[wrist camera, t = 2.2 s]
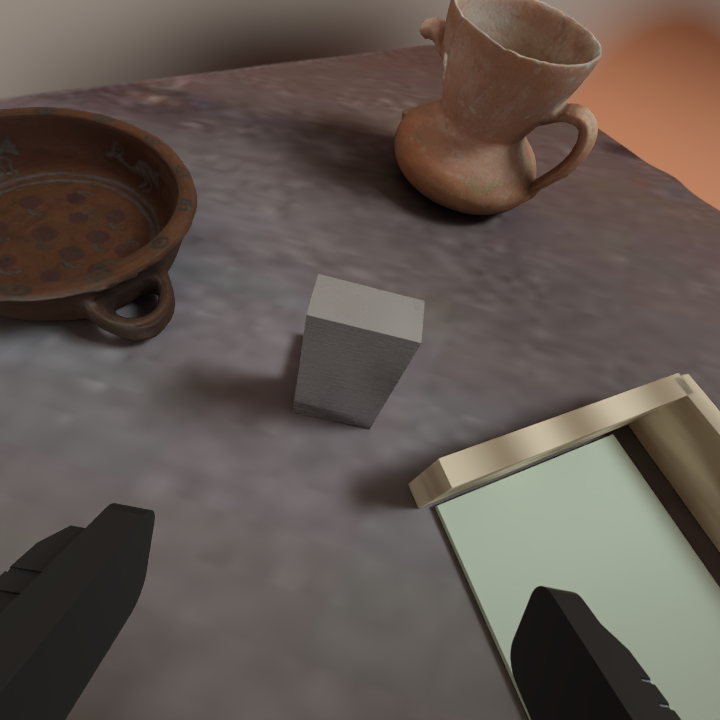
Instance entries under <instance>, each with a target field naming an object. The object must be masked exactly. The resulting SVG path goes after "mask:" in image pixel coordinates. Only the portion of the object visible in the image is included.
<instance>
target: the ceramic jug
mask: <svg viewBox="0 0 720 720" xmlns="http://www.w3.org/2000/svg"><path fill="white" fill-rule="evenodd" d="M420 33H421V35H422V36H423V37H424V38H425V39H428V38H429V39H430V40H433V42H434V43H435V45H436V47H437V50H438V52H439V54H440V56H441V58H442V59H443V70H442V99H439V100H435V101H430V102H427V103H424V104H421V105H419V106H417V107H414V108H411V109H406V110H403V112H402V121H401V122H400V124H399V126H398V128H397V131H396V135H395V155H396V159H397V162H398V165H399V167H400V169H401V171H402V173H403V175H404V176H405V177H406V179H407V180H408V181H409V183H410V184H411V185H412V186H413V187H414V188H415V189H417V190H418V191H419V192H420V193H421V194H423V195H424V196H426V197H427V198H429V199H430V200H432V201H433V202H435V203H437V204H439V205H441V206H444V207H446V208H449V209H451V210H455V211H458V212H462V213H466V214H473V215H493V214H499V213H503V212H506V211H509V210H511V209H513V208H515V207H517V206H519V205H520V204H521V203H523V202H526V201H528V200H530V199H532V198H533V197H534V196H535V195H536V194H537V193H538V192H539V190H541V189H542V188H544V187H546V186H548V185H550V184H552V183H554V182H556V181H558V180H560V179H562V178H564V177H566V176H568V174H570V173H571V172H573V170H575V169H576V168H577V167H578V166H579V165H580V164H581V163H582V162H583V161H584V160H585V158H586V157H587V156H588V154H589V153H590V151H591V150H592V148H593V146H594V144H595V141H596V138H597V133H598V124H597V121H596V119H595V117H594V115H593V114H592V112H591V111H590V110H589V109H588V108H586V107H584V106H582V105H578V104H567V103H566V101H567V99H568V98H569V97H570V96H571V95H572V94H573V93H574V92H575V91H576V90H577V88H578V87H579V86H580V85H581V84H582V83H583V81H584V80H585V79H586V78H587V76H588V75H589V74H590V73H591V71H592V70H593V69H594V67H595V66H596V64H597V63H598V61H599V60H600V58H601V56H602V54H601V53H602V51H601V45H600V43H599V42H598V40H596V39H595V37H594V35H593V34H591V32H590V31H589V30H587V29H586V28H585V27H584V26H582V25H580V24H579V22H578V21H576V20H575V19H574V18H572V17H570V16H568V15H565V13H564V12H562V11H560V10H559V9H557V8H554V7H552V6H550V5H548V4H547V3H544V2H542V1H539V0H451V2H450V5H449V9H448V13H447V18H446V21H444V20H442V19H439V18H429V19H426V20H425V22H423V24H422V25H421V27H420ZM556 122H566V123H569V124H572V125H574V126H576V127H577V129H578V130H579V134H578V139H577V142H576V144H575V146H574V147H573V149H572V151H571V152H570V154H569V155H568V156H567V157H566V158H565V159H564V160H563V161H562V162H561V163H560V164H559V165H557V166H556V167H555V168H553V169H552V170H550V171H549V172H547V173H545V174H544V175H542V176H541V177H539V178H537V179H535V178H536V161H535V157H534V153H533V151H532V149H531V146H530V144H529V142H528V140H527V138H526V135H528V134H529V133H530V132H531V131H532V130H534V129H535V128H536V127H538V126H541V125H547V124H551V123H556Z"/></svg>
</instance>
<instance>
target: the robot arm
mask: <svg viewBox="0 0 720 720" xmlns="http://www.w3.org/2000/svg"><path fill="white" fill-rule="evenodd" d="M154 520H155V514H154V511H153V510H148V509H142V508H137V507H132V506H127V505H121V504H116V503H113V504H110V505H109V506H108V507H106V508H105V509H104V510H103V511H102V512H101V513H100V514H99V515H98V516H97V517H96V518H95V519H94V520H93V521H92V522H91V523H90V524H89V525H88V526H87V527H86V528H81V527H76V526H69V527H67V528H65V529H63V530H61V531H59V532H57V533H55V534H53V535H51V536H49V537H47V538H45V539H43V540H42V541H40V542H38V543H36V544H35V545H34V546H33V547H32V548H31V549H30V550H29V551H27V552H26V553H25V554H24V555H23V556H22V557H21V558H19V559H18V560H17V561H16V562H15V563H14V564H13V565H12V566H11V567H10V569H9V571H8V572H6V571H5V572H4V573H3V574H1V575H0V720H65V719H66V718H67V716H68V714H69V713H70V711H71V710H72V708H73V706H74V705H75V703H76V701H77V700H78V698H79V697H80V695H81V693H82V692H83V690H84V689H85V687H86V685H87V684H88V682H89V681H90V679H91V677H92V676H93V674H94V672H95V671H96V669H97V668H98V666H99V664H100V663H101V661H102V660H103V658H104V656H105V655H106V653H107V651H108V650H109V648H110V647H111V645H112V643H113V642H114V640H115V639H116V637H117V635H118V634H119V632H120V631H121V629H122V627H123V626H124V624H125V622H126V621H127V619H128V618H129V616H130V614H131V613H132V611H133V609H134V607H135V605H136V603H137V601H138V598H139V596H140V593H141V590H142V588H143V584H144V581H145V577H146V571H147V565H148V558H149V552H150V546H151V539H152V533H153V527H154ZM510 660H511V668H512V673H513V677H514V679H515V682H516V684H517V687H518V689H519V692H520V694H521V696H522V699H523V701H524V704H525V706H526V708H527V711H528V713H529V716H530V718H531V720H681V719H680V717H679V716H678V715H677V713H676V712H675V711H674V710H671V709H670V707H669V703H668V701H667V700H666V699H665V697H664V696H663V695H662V693H661V692H660V691H659V689H658V688H657V687H656V685H655V684H651V682H650V677H649V676H648V675H647V673H646V672H645V671H644V669H643V668H642V667H641V665H640V664H639V663H638V661H637V660H636V659H635V657H634V656H633V655H632V653H631V652H630V651H629V650H628V649H627V648H626V647H625V646H624V645H623V644H622V643H621V642H620V641H619V640H618V639H617V638H616V637H615V636H614V635H612V634H611V633H610V632H609V631H608V630H607V629H606V628H605V627H604V626H603V625H601V623H600V622H599V621H598V619H597V618H596V617H595V615H594V614H593V612H592V611H591V610H590V608H589V607H588V606H587V604H586V603H585V601H584V600H583V599H582V598H581V596H579V595H578V594H577V593H575V592H571V591H565V590H560V589H555V588H550V587H544V586H538V587H536V588H535V589H534V590H533V592H532V594H531V596H530V599H529V601H528V604H527V606H526V609H525V611H524V614H523V616H522V619H521V621H520V624H519V626H518V629H517V631H516V634H515V636H514V639H513V641H512V645H511V652H510Z"/></svg>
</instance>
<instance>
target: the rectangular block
mask: <svg viewBox="0 0 720 720" xmlns="http://www.w3.org/2000/svg"><path fill="white" fill-rule="evenodd" d="M424 302H425V301H422V300H418V299H414V298H410V297H406V296H403V295H399V294H395V293H391V292H387V291H383V290H379V289H375V288H371V287H367V286H363V285H360V284H356V283H352V282H348V281H344V280H340V279H336V278H332V277H328V276H324V275H320V274H318V277H317V280H316V284H315V287H314V291H313V294H312V298H311V301H310V305H309V308H308V312H307V316H306V322H305V329H304V336H303V343H302V350H301V357H300V364H299V371H298V378H297V385H296V392H295V399H294V406H293V412H295V413H299V414H304V415H308V416H313V417H317V418H322V419H326V420H331V421H335V422H340V423H344V424H349V425H353V426H358V427H362V428H367V429H370V428H371V426H372V424H373V423H374V421H375V419H376V418H377V416H378V414H379V413H380V411H381V409H382V408H383V406H384V404H385V403H386V401H387V399H388V398H389V396H390V394H391V393H392V391H393V389H394V388H395V386H396V384H397V383H398V381H399V379H400V378H401V376H402V374H403V373H404V371H405V369H406V368H407V366H408V364H409V363H410V361H411V359H412V358H413V356H414V354H415V353H416V351H417V349H418V348H419V346H420V344H421V342H422V328H423V315H424Z"/></svg>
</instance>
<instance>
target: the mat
mask: <svg viewBox="0 0 720 720" xmlns="http://www.w3.org/2000/svg"><path fill="white" fill-rule="evenodd" d="M435 509H436V511H437V513H438V516H439V518H440V520H441V522H442V525H443V527H444V529H445V531H446V534H447V536H448V538H449V540H450V543H451V545H452V547H453V549H454V552H455V554H456V556H457V558H458V561H459V563H460V565H461V567H462V570H463V572H464V574H465V576H466V579H467V581H468V583H469V585H470V588H471V590H472V592H473V594H474V597H475V599H476V601H477V603H478V606H479V608H480V610H481V612H482V615H483V617H484V619H485V621H486V624H487V626H488V628H489V631H490V633H491V635H492V637H493V640H494V642H495V644H496V646H497V649H498V651H499V653H500V655H501V658H502V660H503V662H504V664H505V667H506V669H507V671H508V673H509V676H510V678H511V680H512V682H513V685H514V687H515V689H516V691H517V694H518V696H519V698H520V700H521V703H522V705H523V707H524V709H525V712H526V714H527V716H528V718H529V720H531V718H530V716H529V713H528V711H527V708H526V706H525V704H524V701H523V699H522V696H521V694H520V692H519V689H518V687H517V684H516V682H515V679H514V677H513V673H512V668H511V660H510V652H511V645H512V641H513V639H514V636H515V634H516V631H517V629H518V626H519V624H520V621H521V619H522V616H523V614H524V611H525V609H526V606H527V604H528V601H529V599H530V596H531V594H532V592H533V590H534V589H535V588H536V587H538V586H544V587H550V588H555V589H560V590H565V591H571V592H575V593H577V594H578V595H579V596H581V598H582V599H583V600H584V601H585V603H586V604H587V606H588V607H589V608H590V610H591V611H592V612H593V614H594V615H595V617H596V618H597V619H598V621H599V622H600V623H601V625H603V626H604V627H605V628H606V629H607V630H608V631H609V632H610V633H611V634H612V635H614V636H615V637H616V638H617V639H618V640H619V641H620V642H621V643H622V644H623V645H624V646H625V647H626V648H627V649H628V650H629V651H630V652H631V653H632V655H633V656H634V657H635V659H636V660H637V661H638V663H639V664H640V665H641V667H642V668H643V669H644V671H645V672H646V673H647V675H648V676H649V677H650V682H651V684H655V685H656V687H657V688H658V689H659V691H660V692H661V693H662V695H663V696H664V697H665V699H666V700H667V701H668V703H669V707H670V709H671V710H674V711H675V712H676V713H677V715H678V716H679V717H680V719H681V720H720V587H719V586H718V585H717V583H716V582H715V580H714V579H713V577H712V576H711V574H710V573H709V572H708V570H707V569H706V567H705V566H704V564H703V563H702V561H701V560H700V559H699V557H698V556H697V554H696V553H695V551H694V550H693V548H692V547H691V546H690V544H689V543H688V541H687V540H686V538H685V537H684V535H683V534H682V533H681V531H680V530H679V528H678V527H677V525H676V524H675V522H674V521H673V520H672V518H671V517H670V515H669V514H668V512H667V511H666V510H665V508H664V507H663V505H662V504H661V502H660V501H659V499H658V498H657V497H656V495H655V494H654V492H653V491H652V489H651V488H650V486H649V485H648V484H647V482H646V481H645V479H644V478H643V476H642V475H641V473H640V472H639V471H638V469H637V468H636V466H635V465H634V463H633V462H632V460H631V459H630V458H629V456H628V455H627V453H626V452H625V450H624V449H623V448H622V446H621V445H620V443H619V442H618V440H617V439H616V437H615V436H614V435H613V434H612V435H610V436H607V437H605V438H603V439H600V440H598V441H595V442H593V443H590V444H588V445H585V446H583V447H580V448H578V449H575V450H573V451H571V452H568V453H566V454H563V455H561V456H558V457H556V458H553V459H551V460H548V461H546V462H543V463H541V464H539V465H536V466H534V467H531V468H529V469H526V470H524V471H521V472H519V473H516V474H514V475H511V476H509V477H507V478H504V479H502V480H499V481H497V482H494V483H492V484H489V485H487V486H484V487H482V488H480V489H477V490H475V491H472V492H470V493H467V494H465V495H462V496H460V497H457V498H455V499H452V500H450V501H448V502H445V503H443V504H440V505H438V506H436V507H435Z"/></svg>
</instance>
